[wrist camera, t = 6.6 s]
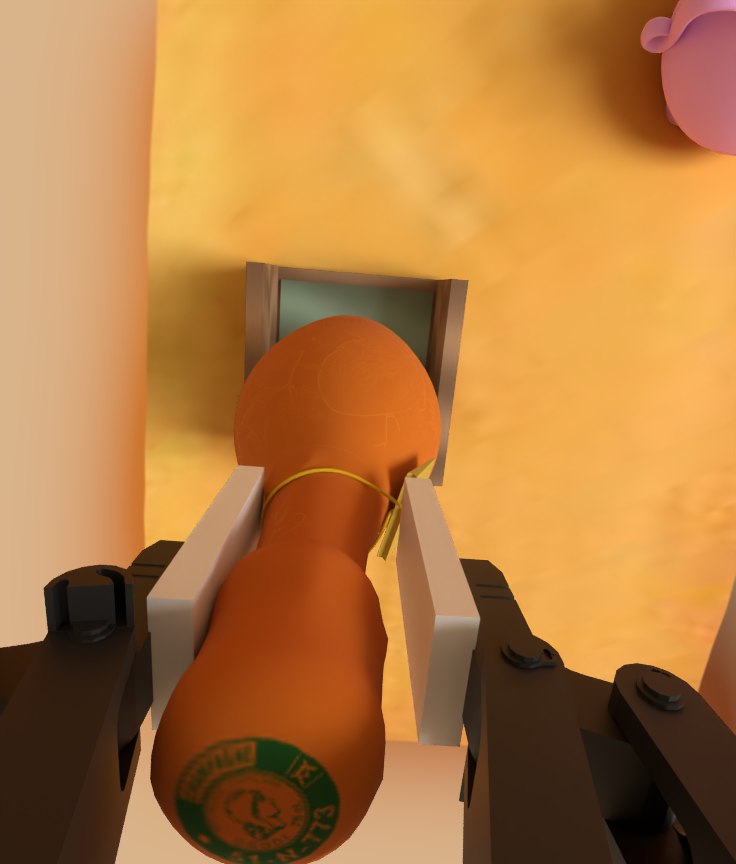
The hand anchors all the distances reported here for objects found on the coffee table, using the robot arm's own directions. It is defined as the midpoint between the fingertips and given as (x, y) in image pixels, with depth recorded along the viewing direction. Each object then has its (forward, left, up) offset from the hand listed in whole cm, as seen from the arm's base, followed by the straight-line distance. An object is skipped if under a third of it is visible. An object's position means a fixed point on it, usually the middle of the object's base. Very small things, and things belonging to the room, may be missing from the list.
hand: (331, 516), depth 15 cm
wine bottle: (0, 0, -21) cm, 21 cm away
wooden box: (0, 0, -33) cm, 33 cm away
